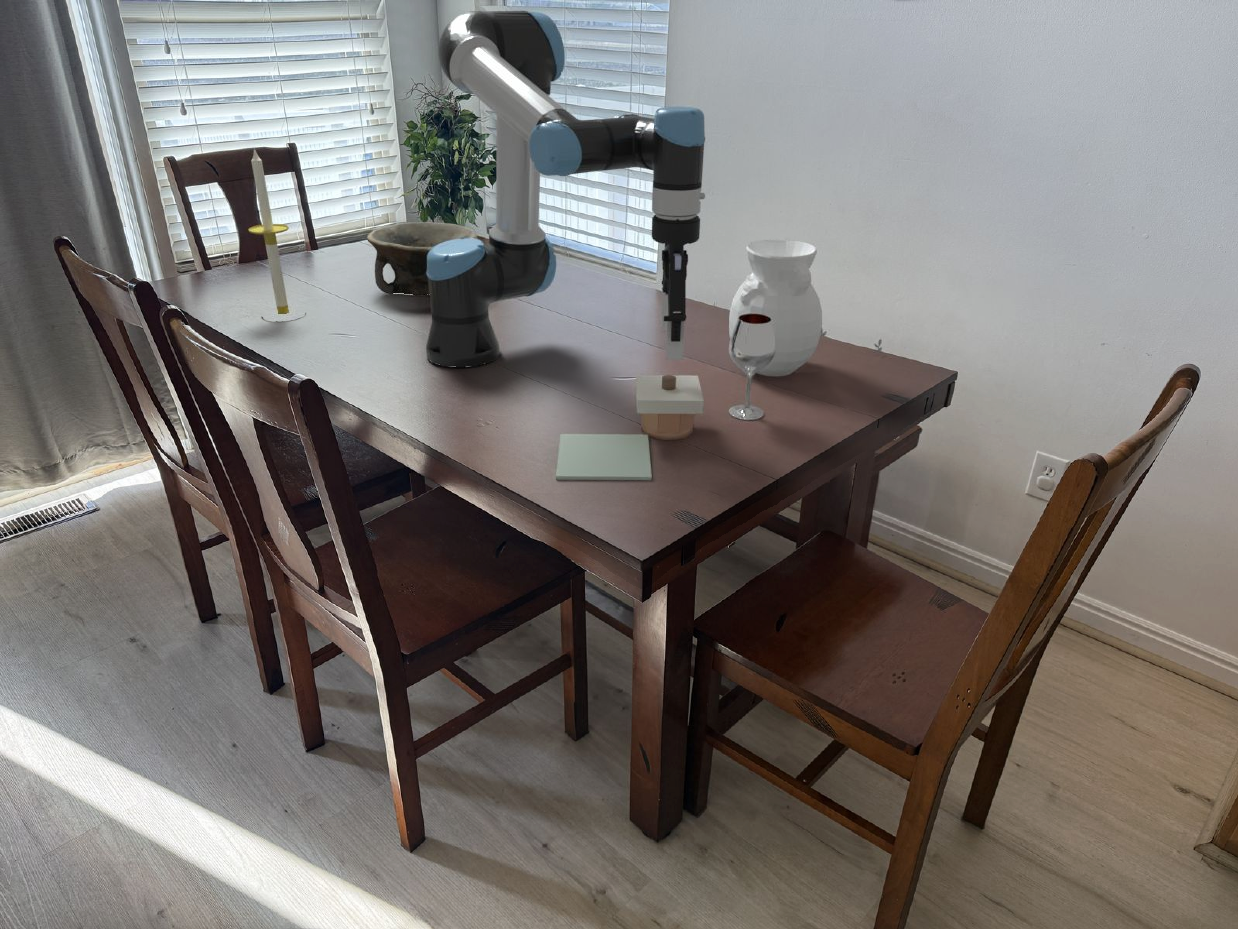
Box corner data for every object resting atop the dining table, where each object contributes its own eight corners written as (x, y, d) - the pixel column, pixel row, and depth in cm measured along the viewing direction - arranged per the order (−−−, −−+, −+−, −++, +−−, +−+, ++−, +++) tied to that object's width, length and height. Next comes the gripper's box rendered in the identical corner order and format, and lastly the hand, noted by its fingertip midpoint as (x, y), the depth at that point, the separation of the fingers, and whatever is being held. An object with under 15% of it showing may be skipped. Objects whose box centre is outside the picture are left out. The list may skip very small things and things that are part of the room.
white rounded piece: (709, 358, 182) (717, 239, 170) (783, 347, 188) (796, 232, 176) (755, 391, 167) (767, 263, 155) (834, 378, 173) (851, 254, 161)
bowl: (501, 287, 226) (498, 229, 219) (430, 313, 206) (424, 250, 199) (425, 270, 238) (420, 215, 231) (352, 294, 219) (344, 234, 212)
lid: (637, 413, 144) (637, 390, 142) (635, 387, 154) (636, 365, 152) (702, 413, 144) (704, 390, 142) (697, 388, 154) (698, 366, 152)
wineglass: (720, 404, 161) (727, 311, 153) (763, 403, 162) (772, 310, 153) (728, 423, 154) (736, 326, 146) (773, 421, 155) (783, 326, 146)
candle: (271, 325, 197) (239, 152, 179) (254, 314, 204) (222, 147, 186) (313, 316, 203) (286, 148, 185) (295, 306, 210) (268, 143, 192)
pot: (642, 440, 148) (643, 410, 145) (640, 417, 156) (641, 389, 153) (694, 440, 148) (696, 411, 145) (690, 418, 156) (691, 390, 153)
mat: (555, 479, 135) (555, 476, 135) (560, 437, 148) (560, 433, 148) (651, 480, 135) (651, 476, 135) (647, 437, 148) (647, 434, 148)
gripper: (708, 232, 123) (700, 371, 133) (693, 199, 145) (687, 320, 155) (655, 232, 123) (652, 371, 133) (648, 199, 145) (646, 320, 155)
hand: (671, 344), depth 144 cm, fingers open, 13 cm apart
